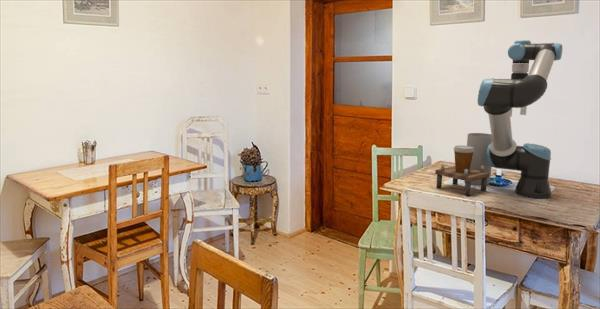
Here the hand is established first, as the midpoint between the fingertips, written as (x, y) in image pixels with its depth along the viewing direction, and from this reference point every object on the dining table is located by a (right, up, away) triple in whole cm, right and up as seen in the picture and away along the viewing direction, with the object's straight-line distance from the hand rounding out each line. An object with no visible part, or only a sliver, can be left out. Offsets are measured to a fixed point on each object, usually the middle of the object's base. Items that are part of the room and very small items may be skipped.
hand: (515, 115), depth 237 cm
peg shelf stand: (-30, -36, -7) cm, 48 cm away
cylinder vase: (-17, -34, +6) cm, 39 cm away
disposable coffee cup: (-30, -28, -8) cm, 41 cm away
